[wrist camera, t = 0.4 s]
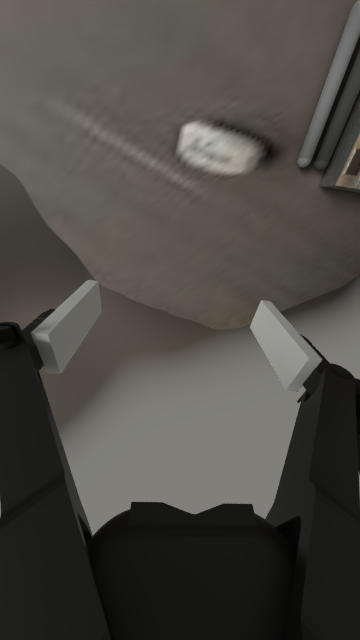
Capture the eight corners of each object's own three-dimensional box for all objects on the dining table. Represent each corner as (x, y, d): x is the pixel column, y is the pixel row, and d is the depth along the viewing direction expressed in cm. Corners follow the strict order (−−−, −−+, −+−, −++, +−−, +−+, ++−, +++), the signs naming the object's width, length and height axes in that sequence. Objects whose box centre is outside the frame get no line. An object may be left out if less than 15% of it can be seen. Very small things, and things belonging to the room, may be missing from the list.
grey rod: (350, 2, 23) (364, -13, 21) (365, 5, 23) (380, -10, 21) (292, 167, 32) (299, 165, 30) (303, 169, 32) (310, 167, 30)
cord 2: (372, 7, 23) (388, -8, 21) (387, 10, 23) (403, -4, 22) (309, 169, 32) (316, 168, 30) (320, 171, 32) (328, 170, 30)
